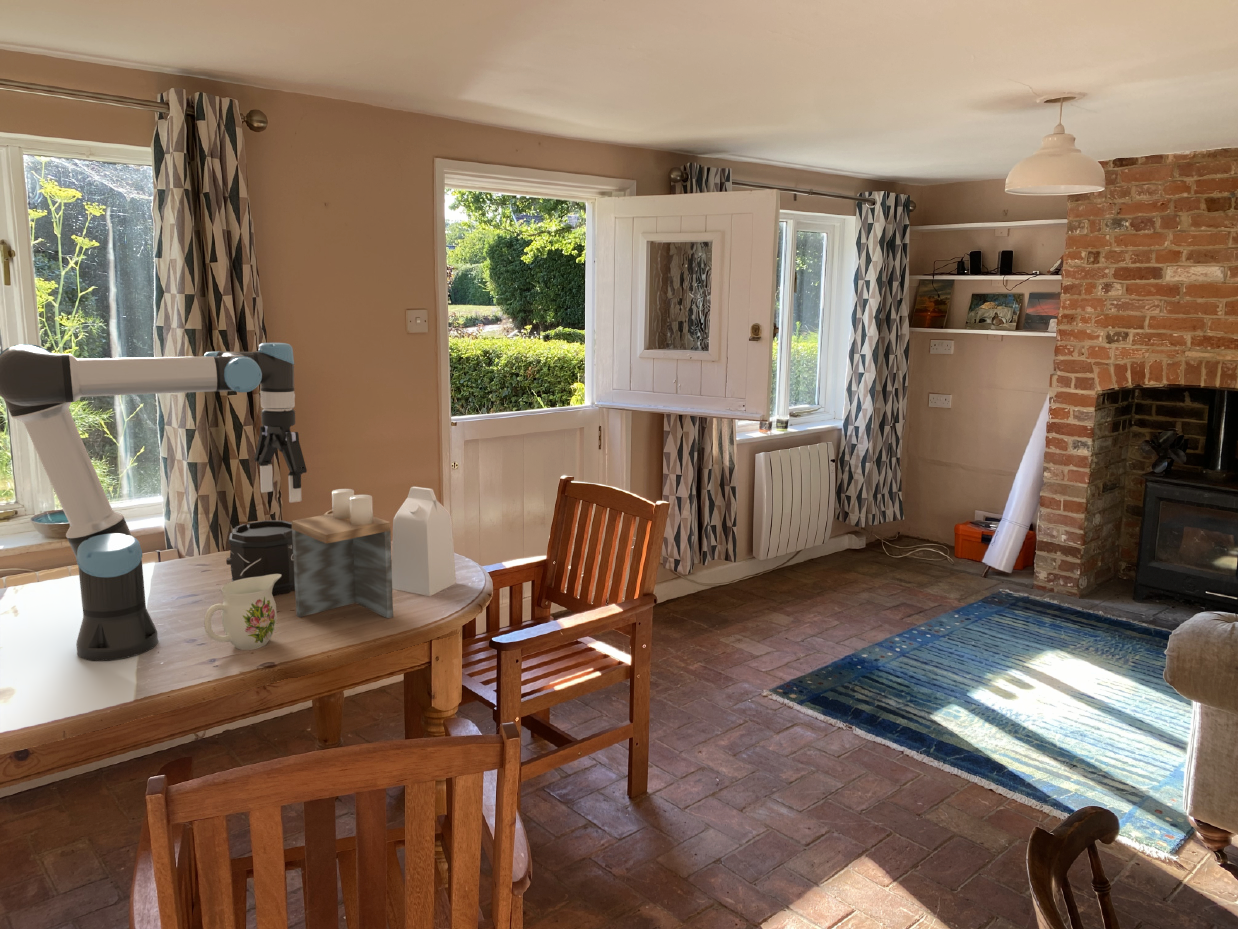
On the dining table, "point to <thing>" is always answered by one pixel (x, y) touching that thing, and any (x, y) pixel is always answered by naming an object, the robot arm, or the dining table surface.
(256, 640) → the pitcher
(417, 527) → the milk
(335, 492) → the white ceramic cylinder
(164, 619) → the dining table surface
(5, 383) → the robot arm
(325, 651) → the dining table surface
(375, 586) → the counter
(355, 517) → the white ceramic cup
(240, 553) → the black octagonal canister
